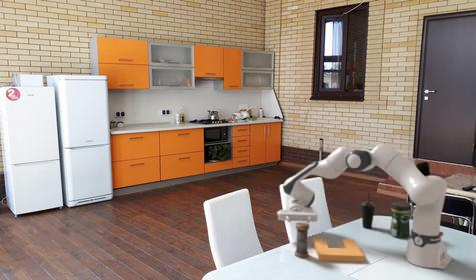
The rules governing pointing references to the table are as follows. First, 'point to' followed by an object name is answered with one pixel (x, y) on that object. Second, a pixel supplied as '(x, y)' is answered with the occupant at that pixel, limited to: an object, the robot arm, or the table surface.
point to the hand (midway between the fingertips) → (298, 220)
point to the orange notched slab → (338, 251)
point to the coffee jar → (400, 219)
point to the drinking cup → (367, 213)
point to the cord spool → (302, 240)
